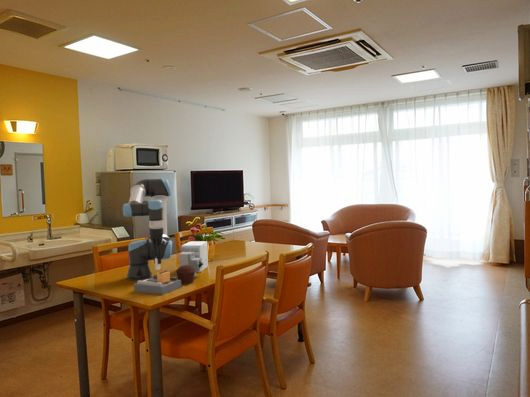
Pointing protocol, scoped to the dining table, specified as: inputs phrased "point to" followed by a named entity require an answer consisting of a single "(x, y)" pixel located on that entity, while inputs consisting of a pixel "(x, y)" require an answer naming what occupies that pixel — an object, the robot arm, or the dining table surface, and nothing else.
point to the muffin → (185, 274)
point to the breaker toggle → (163, 277)
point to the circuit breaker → (190, 260)
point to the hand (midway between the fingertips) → (158, 269)
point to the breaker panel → (158, 289)
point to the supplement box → (197, 251)
